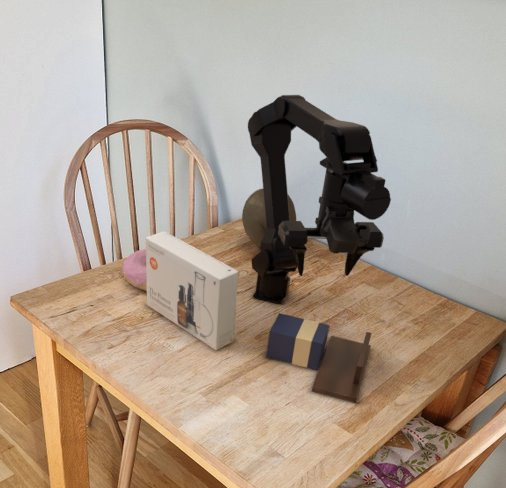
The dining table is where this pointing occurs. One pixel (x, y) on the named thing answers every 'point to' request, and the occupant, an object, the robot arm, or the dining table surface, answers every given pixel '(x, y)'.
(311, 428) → the dining table surface
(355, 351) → the walnut stand
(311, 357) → the tea box
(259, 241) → the cantaloupe
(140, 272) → the donut
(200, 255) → the skincare box
